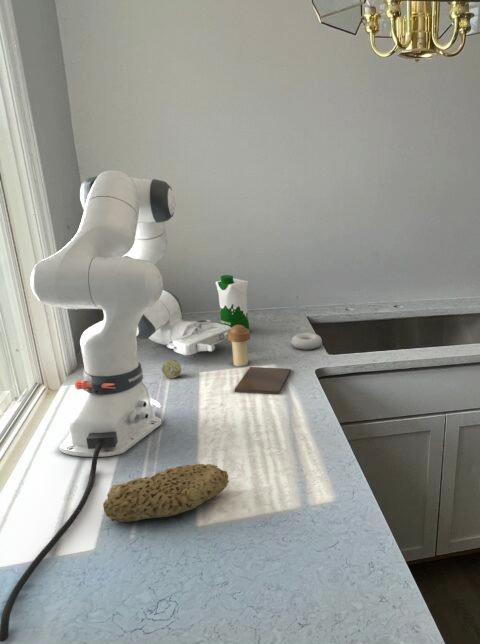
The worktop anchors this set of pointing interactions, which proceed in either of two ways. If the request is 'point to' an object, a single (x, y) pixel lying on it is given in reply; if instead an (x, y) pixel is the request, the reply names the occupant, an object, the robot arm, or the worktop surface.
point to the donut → (306, 341)
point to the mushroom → (239, 344)
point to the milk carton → (233, 301)
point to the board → (263, 380)
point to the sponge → (165, 493)
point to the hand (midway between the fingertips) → (224, 343)
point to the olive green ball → (171, 369)
